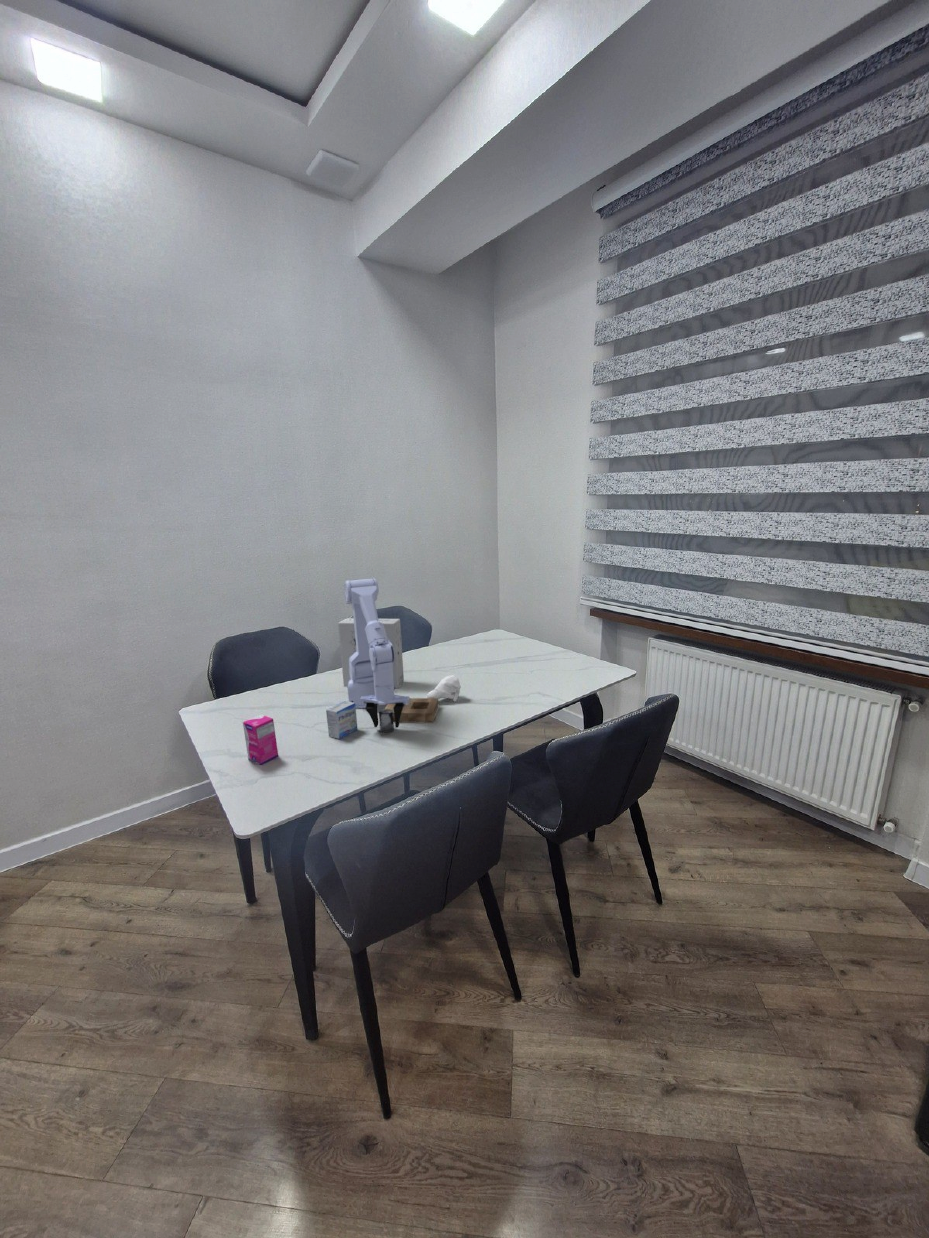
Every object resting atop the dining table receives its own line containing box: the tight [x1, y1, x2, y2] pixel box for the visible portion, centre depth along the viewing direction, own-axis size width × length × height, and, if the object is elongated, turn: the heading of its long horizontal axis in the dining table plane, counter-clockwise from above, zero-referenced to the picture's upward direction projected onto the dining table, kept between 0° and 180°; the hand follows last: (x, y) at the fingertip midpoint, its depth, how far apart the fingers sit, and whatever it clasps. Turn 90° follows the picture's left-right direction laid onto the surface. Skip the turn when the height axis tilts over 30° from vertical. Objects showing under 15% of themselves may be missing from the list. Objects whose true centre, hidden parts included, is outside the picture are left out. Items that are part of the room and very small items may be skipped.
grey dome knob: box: [378, 708, 395, 734], centre depth 148 cm, size 4×4×6 cm
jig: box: [384, 697, 439, 723], centre depth 160 cm, size 16×12×3 cm
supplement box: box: [242, 713, 279, 766], centre depth 133 cm, size 6×6×12 cm
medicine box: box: [325, 700, 358, 740], centre depth 147 cm, size 8×4×9 cm, turn 148°
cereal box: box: [337, 617, 405, 689], centre depth 185 cm, size 22×8×25 cm, turn 80°
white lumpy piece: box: [426, 674, 462, 703], centre depth 169 cm, size 6×8×12 cm
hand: (386, 726), depth 149 cm, fingers open, 6 cm apart
